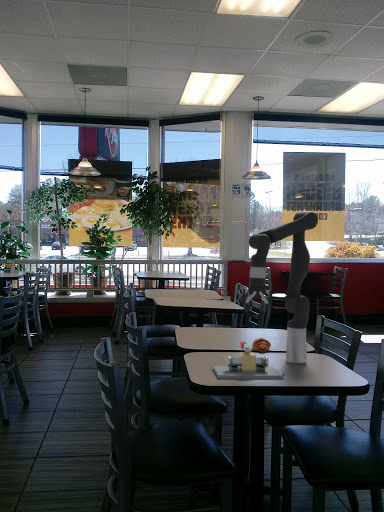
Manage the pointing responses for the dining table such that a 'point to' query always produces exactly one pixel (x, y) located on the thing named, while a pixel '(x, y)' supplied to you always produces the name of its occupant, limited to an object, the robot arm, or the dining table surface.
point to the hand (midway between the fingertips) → (255, 311)
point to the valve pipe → (247, 363)
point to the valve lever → (245, 347)
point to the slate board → (225, 373)
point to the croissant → (261, 345)
